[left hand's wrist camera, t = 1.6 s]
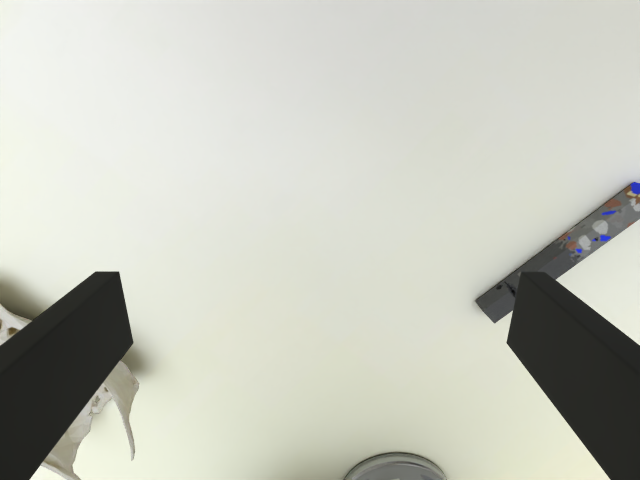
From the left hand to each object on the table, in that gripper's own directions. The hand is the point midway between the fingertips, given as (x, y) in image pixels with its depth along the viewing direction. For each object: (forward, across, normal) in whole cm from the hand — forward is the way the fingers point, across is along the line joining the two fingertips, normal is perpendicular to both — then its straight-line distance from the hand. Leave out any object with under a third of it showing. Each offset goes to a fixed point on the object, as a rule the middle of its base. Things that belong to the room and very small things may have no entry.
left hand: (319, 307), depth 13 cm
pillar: (+27, -26, +9) cm, 39 cm away
